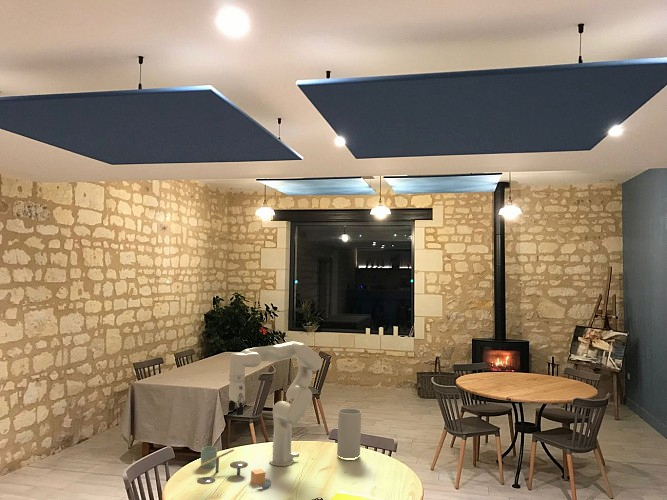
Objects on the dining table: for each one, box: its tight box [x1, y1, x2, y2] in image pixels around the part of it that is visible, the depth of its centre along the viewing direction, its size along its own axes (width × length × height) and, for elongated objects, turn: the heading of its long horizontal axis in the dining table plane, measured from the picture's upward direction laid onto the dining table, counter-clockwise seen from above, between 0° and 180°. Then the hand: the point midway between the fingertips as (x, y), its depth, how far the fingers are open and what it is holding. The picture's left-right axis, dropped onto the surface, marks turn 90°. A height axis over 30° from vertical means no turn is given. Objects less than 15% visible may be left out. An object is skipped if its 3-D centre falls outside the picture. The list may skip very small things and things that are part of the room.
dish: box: [256, 477, 272, 491], centre depth 248 cm, size 12×12×1 cm
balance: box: [196, 448, 249, 485], centre depth 254 cm, size 24×14×11 cm, turn 122°
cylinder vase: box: [336, 407, 362, 458], centre depth 291 cm, size 12×12×25 cm
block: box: [250, 468, 266, 486], centre depth 248 cm, size 5×5×5 cm
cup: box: [200, 445, 218, 469], centre depth 266 cm, size 8×8×10 cm
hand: (235, 412), depth 262 cm, fingers open, 9 cm apart
